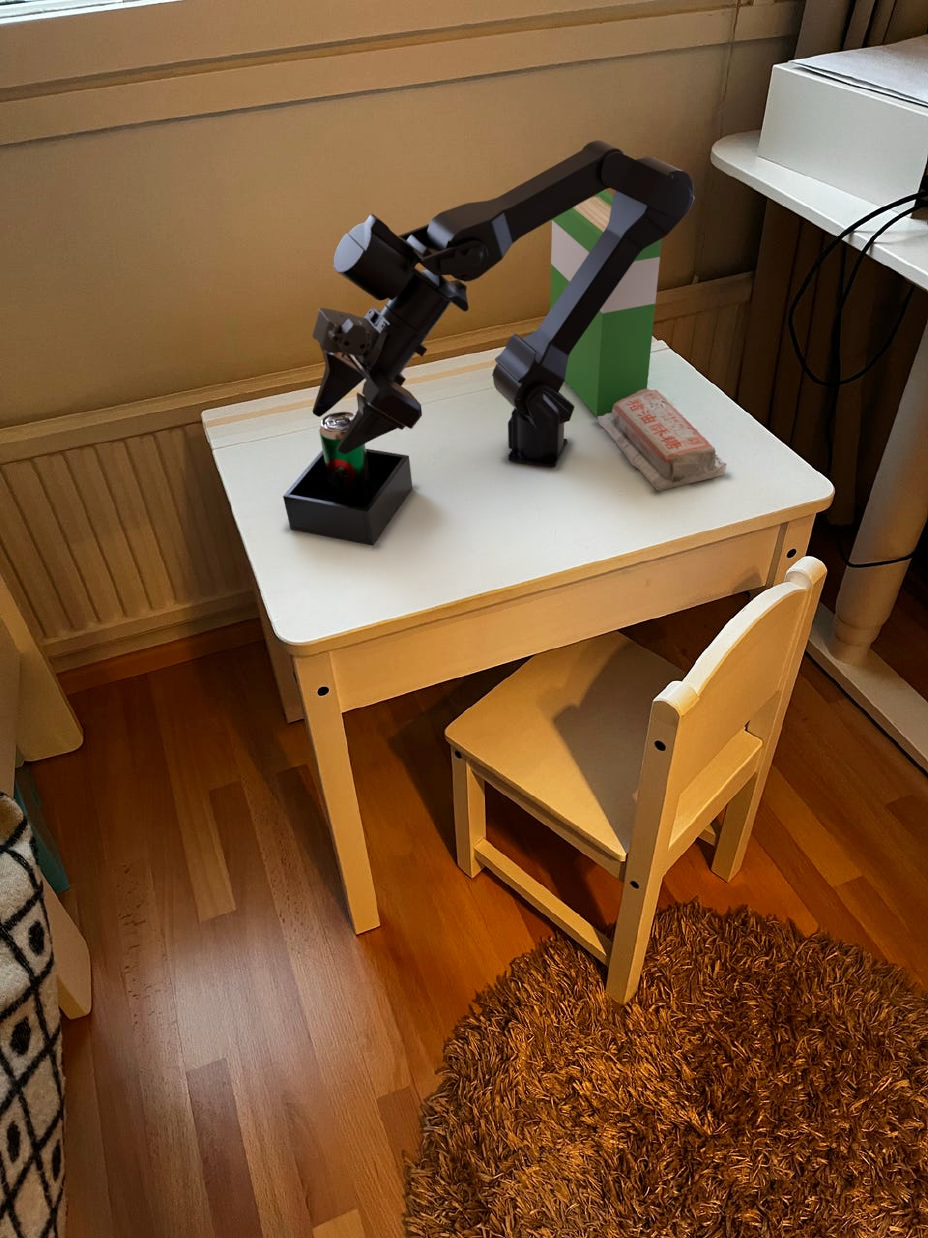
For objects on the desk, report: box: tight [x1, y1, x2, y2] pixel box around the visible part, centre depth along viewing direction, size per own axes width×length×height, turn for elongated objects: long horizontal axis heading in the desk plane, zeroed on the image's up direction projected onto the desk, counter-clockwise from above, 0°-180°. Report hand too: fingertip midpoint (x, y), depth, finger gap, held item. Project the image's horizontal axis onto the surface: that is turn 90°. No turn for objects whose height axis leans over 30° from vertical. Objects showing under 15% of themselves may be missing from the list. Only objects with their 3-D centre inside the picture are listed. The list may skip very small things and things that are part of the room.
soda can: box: [318, 410, 373, 509], centre depth 110 cm, size 5×5×12 cm
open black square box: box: [282, 448, 413, 547], centre depth 113 cm, size 11×12×5 cm
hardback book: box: [549, 189, 663, 418], centre depth 126 cm, size 18×7×24 cm, turn 18°
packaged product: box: [597, 388, 727, 491], centre depth 119 cm, size 18×5×10 cm
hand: (327, 432), depth 106 cm, fingers open, 9 cm apart
